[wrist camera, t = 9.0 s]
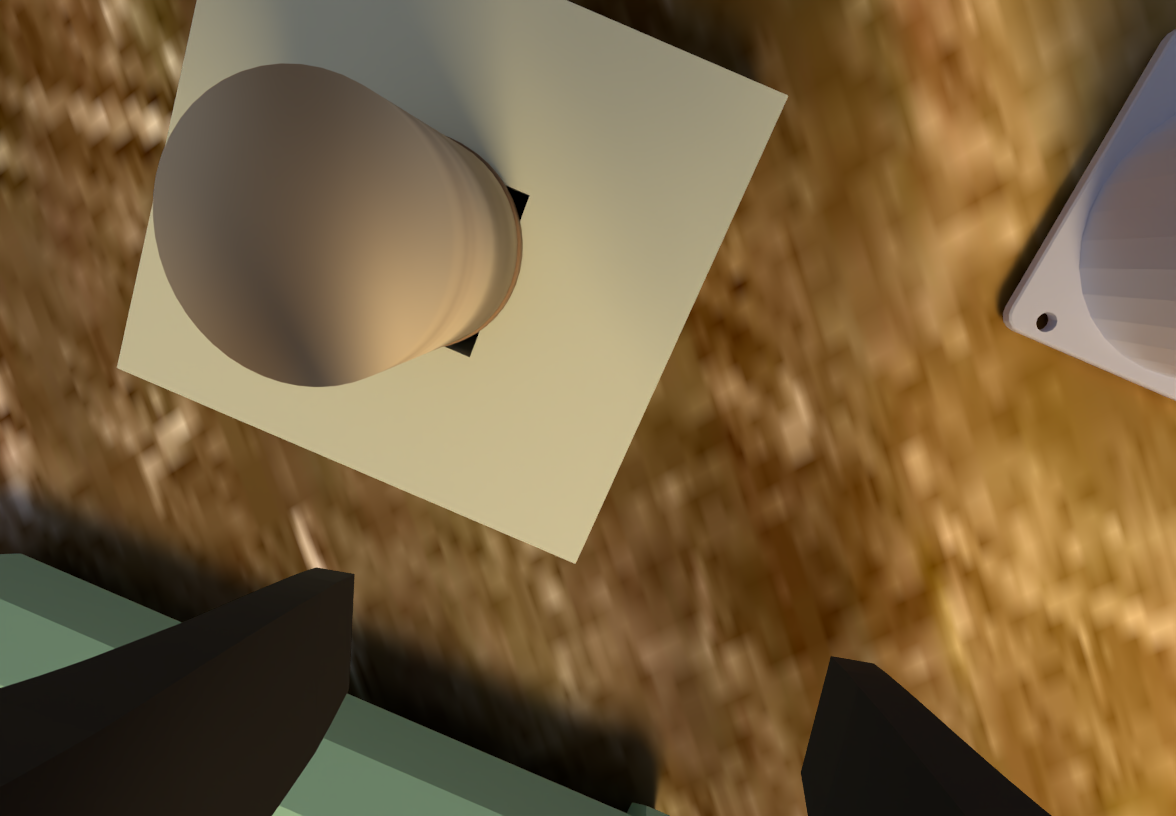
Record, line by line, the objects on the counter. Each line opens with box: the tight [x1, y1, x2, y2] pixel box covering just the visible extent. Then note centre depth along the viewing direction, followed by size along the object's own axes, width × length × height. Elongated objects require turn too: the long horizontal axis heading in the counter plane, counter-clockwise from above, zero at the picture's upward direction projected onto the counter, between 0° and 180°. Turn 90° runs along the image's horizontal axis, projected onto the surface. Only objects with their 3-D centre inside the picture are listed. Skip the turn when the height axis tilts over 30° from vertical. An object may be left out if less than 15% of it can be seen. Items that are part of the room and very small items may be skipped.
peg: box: [153, 63, 523, 387], centre depth 14 cm, size 5×5×8 cm
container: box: [0, 554, 669, 816], centre depth 20 cm, size 6×6×25 cm
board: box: [117, 0, 788, 564], centre depth 17 cm, size 14×13×2 cm
